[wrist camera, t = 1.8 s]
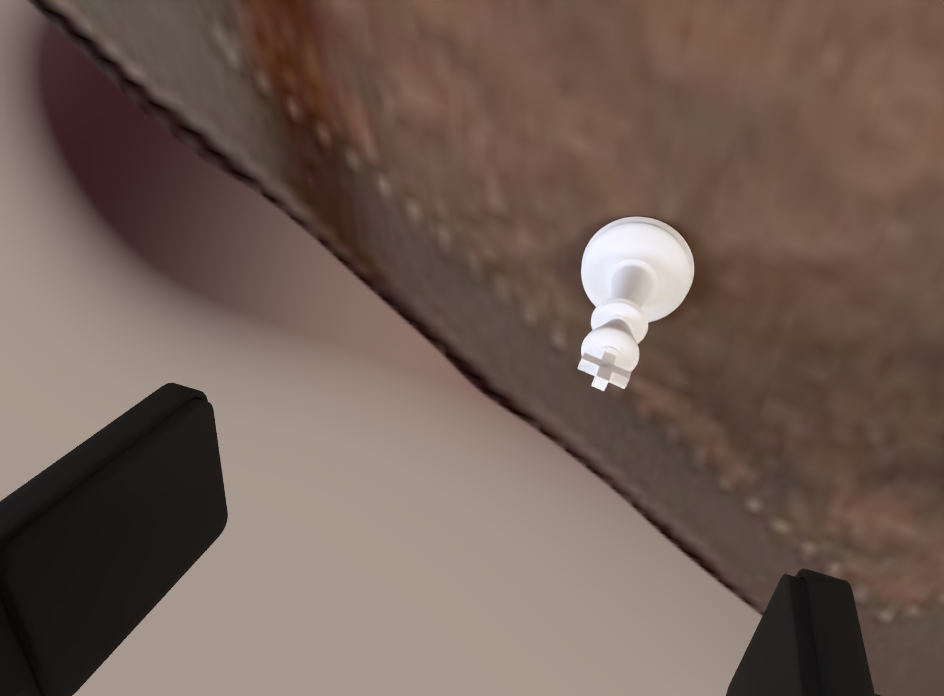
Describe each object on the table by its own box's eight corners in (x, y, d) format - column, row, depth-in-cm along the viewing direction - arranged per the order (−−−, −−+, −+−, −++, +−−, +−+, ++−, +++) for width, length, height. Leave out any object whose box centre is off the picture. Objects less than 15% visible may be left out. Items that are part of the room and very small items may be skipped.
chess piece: (665, 334, 30) (641, 467, 22) (567, 294, 31) (508, 408, 23) (714, 241, 28) (708, 354, 20) (605, 199, 28) (554, 290, 20)
